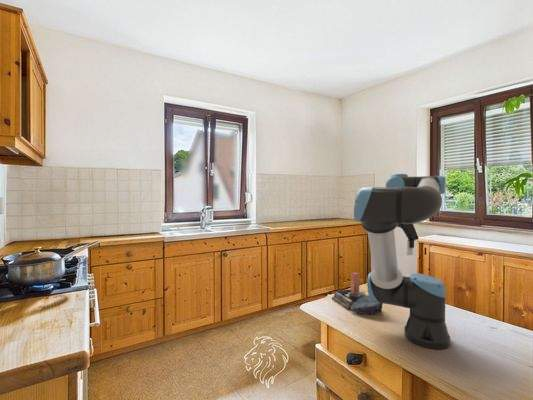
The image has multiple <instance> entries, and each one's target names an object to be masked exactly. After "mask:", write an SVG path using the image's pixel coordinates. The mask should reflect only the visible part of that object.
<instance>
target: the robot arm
mask: <svg viewBox="0 0 533 400" xmlns="http://www.w3.org/2000/svg"><path fill="white" fill-rule="evenodd" d="M445 193H446V177H445V176H443V175H427V176H422V175H421V176H409V175H408V174H406V173H393V174H391V175H390V177H389V178H388V179H387V180H386V182H385V186H369V187H368V186H367V187H365V186H363V187H360V188H359V189H358V190H357V191H356V195H355V199H354V203H353V204H354V205H353V219H354V221H355V222H358V223H361V227H362V229H363V230H364V231H365V232H366V233H367V236H368V243H369V250H370V255H371V256H370V257H371V263H372V268H373V269H372V271H370V272H369V273H368V275H367V279H366V280H367V281H366V286H367V293H368V294H367V295H369V297H370V298H371V299H372V300H373V301H376V302H379V303H383V305H384V304H385V305H390V306H395V307H397V306H398V307H401V308H406V309H409V315H408V318H407V321H406V324H405V326H404V328H403V329H404V331H403V335H404V337H405V338H406V339H407V340H408V341H410V342H412V343H413V344H415V345H417V346H420V347H423V348H427V349H433V350H444V349H448V348H449V347H450V346H451V336H450V334H449V331H448V326H447V324H446V298H447V293H446V285H445V283H444V282H443V281H442V280H440V279H438V278H437V277H434V276H431V275H428V274H424V273H414V272H413V273H411V274H410V276H404V275H403V273H402V271H401V270H400V269H399V267H398V258H397V248H396V247H397V246H396V237H395V229H397V227H398V228H400V229H402V231H403V233H404V235H405V236H406V238H407V241H406V255H407V256H413V254H414V247H415V241H417V240H419V235H418V233H417V231H416V228H415V224H419V223H422V222H424V221H426V220H429V219H430V218H432V217H434V216H435V215H436V214H437V213H439V211H440V210H441V207H442V204H443V199H442V198H443V197H442V195H444V194H445Z"/></svg>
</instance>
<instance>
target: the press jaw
mask: <svg viewBox="0 0 533 400" xmlns="http://www.w3.org/2000/svg"><path fill="white" fill-rule="evenodd" d="M360 277H361V275H360V273H359V272H357V271H355V272H350V289H351V293H348V294H346V295H345V297H347V298H348V299H350V300H352V302H353V303H354V302H356V301H357V300H358V299H360V298H361V297H362V296H365V294H366V291H364V290H363V291H361V290H360ZM359 291H360V292H359Z"/></svg>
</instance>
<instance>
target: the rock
mask: <svg viewBox="0 0 533 400" xmlns="http://www.w3.org/2000/svg"><path fill="white" fill-rule="evenodd" d="M366 295H367V296H362V297H361V298H360V299H358V300H357V301H356V302H354V303H353V304H352V306H351V309H352V310H351V311H355V312H358V313H361V314H364V315H365V314H367V315H368V316H369V315H370V316H371V315H372V314H373V315H375V314H377V313H378V311H379V313H380V312H382V309H383V305H384V303H379V302H376V301H373V300H372V299H371V298H370V297H369V294H366Z"/></svg>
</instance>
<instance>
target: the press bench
mask: <svg viewBox="0 0 533 400" xmlns="http://www.w3.org/2000/svg"><path fill="white" fill-rule="evenodd" d="M360 291H361V290H359V292H360ZM348 293H351V288H349V289H340V290H337V291H334V292H333V296H331V300H332V301H334V302H335V303H337V304H338V305H340V306H341V307H343V309H345V310H347V311H353V310H352V309H351V306H352V304H353V302H352V300H350V299H348V298H347V297H345V295H346V294H348ZM367 295H368V294H366V293H365V296H367Z"/></svg>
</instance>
